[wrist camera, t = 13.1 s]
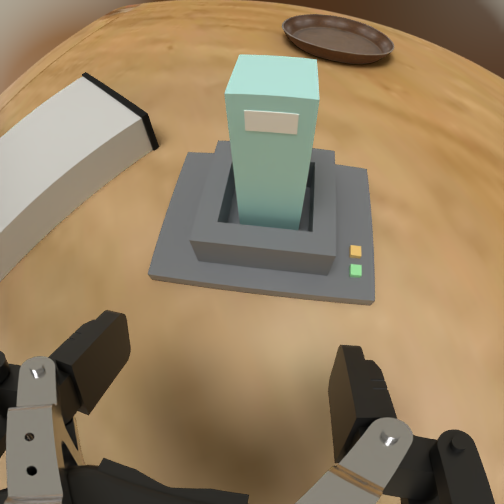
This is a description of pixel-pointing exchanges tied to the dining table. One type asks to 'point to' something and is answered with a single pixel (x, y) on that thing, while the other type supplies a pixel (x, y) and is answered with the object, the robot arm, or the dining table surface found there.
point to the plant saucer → (337, 38)
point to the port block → (269, 235)
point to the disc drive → (64, 160)
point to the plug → (272, 136)
